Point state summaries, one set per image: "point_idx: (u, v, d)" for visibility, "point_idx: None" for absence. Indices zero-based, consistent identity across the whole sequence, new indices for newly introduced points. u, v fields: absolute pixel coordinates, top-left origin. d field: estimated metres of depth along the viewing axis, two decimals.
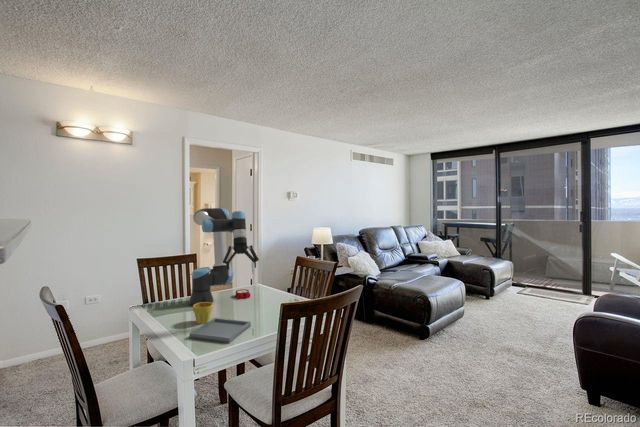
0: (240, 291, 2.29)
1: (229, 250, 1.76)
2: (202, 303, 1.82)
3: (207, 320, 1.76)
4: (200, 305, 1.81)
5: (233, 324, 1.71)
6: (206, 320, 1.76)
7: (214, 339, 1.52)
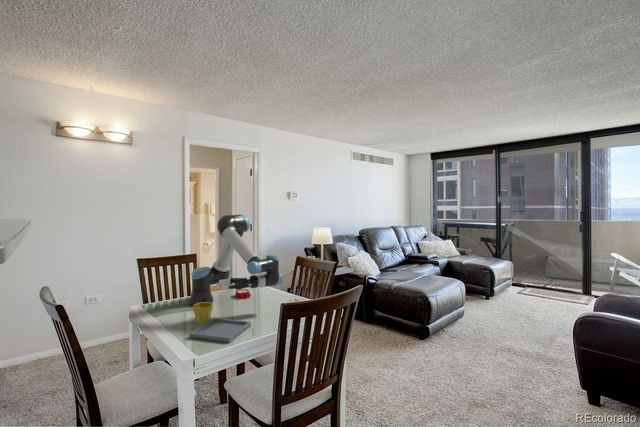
0: (240, 291, 2.29)
1: None
2: (202, 303, 1.82)
3: (207, 320, 1.76)
4: (200, 305, 1.81)
5: (233, 324, 1.71)
6: (206, 320, 1.76)
7: (214, 339, 1.52)
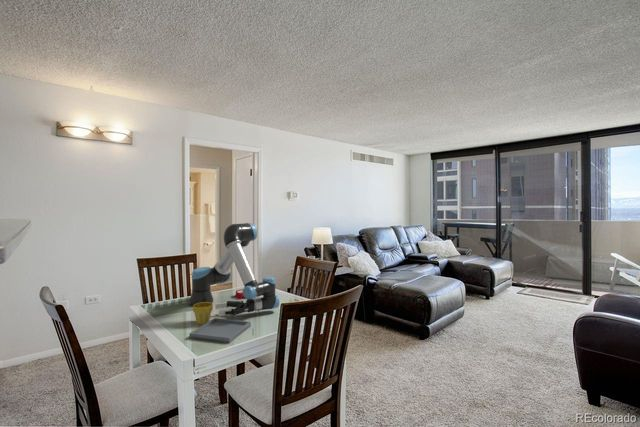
0: (240, 291, 2.29)
1: None
2: (202, 303, 1.82)
3: (207, 320, 1.76)
4: (200, 305, 1.81)
5: (233, 324, 1.71)
6: (206, 320, 1.76)
7: (214, 339, 1.52)
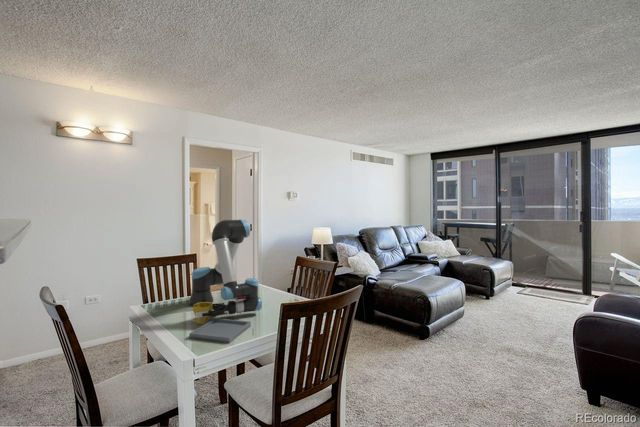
0: None
1: None
2: (202, 303, 1.82)
3: (207, 320, 1.76)
4: (200, 305, 1.81)
5: (233, 324, 1.71)
6: (206, 320, 1.76)
7: (214, 339, 1.52)
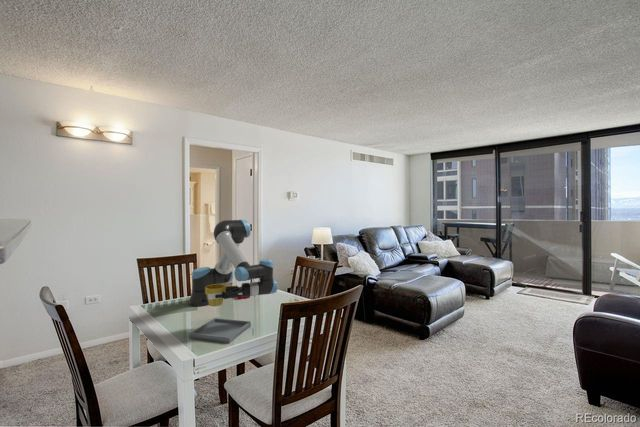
0: None
1: None
2: (214, 285, 1.71)
3: (220, 302, 1.66)
4: (212, 287, 1.71)
5: (233, 324, 1.71)
6: (219, 302, 1.65)
7: (214, 339, 1.52)
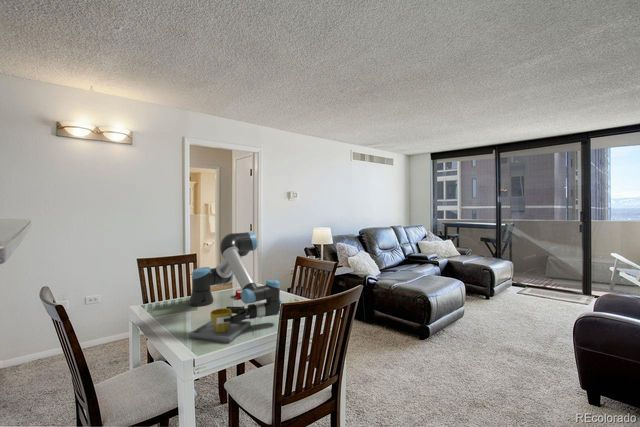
0: (240, 291, 2.28)
1: (244, 319, 1.62)
2: (219, 309, 1.68)
3: (226, 328, 1.62)
4: (217, 312, 1.67)
5: (233, 324, 1.71)
6: (225, 328, 1.62)
7: (214, 339, 1.52)
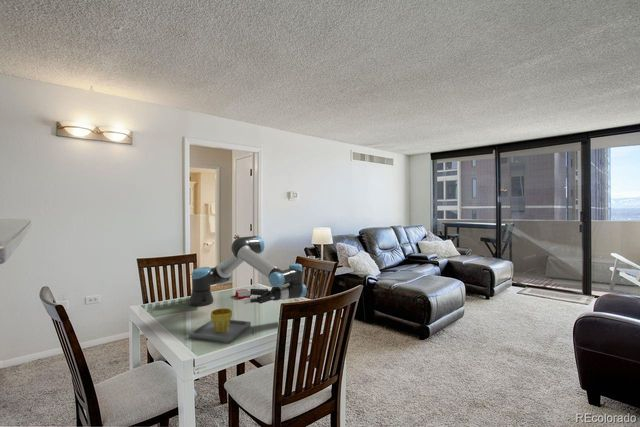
0: None
1: None
2: (220, 310, 1.68)
3: (226, 328, 1.62)
4: (217, 312, 1.67)
5: (233, 324, 1.71)
6: (225, 328, 1.62)
7: (214, 339, 1.52)
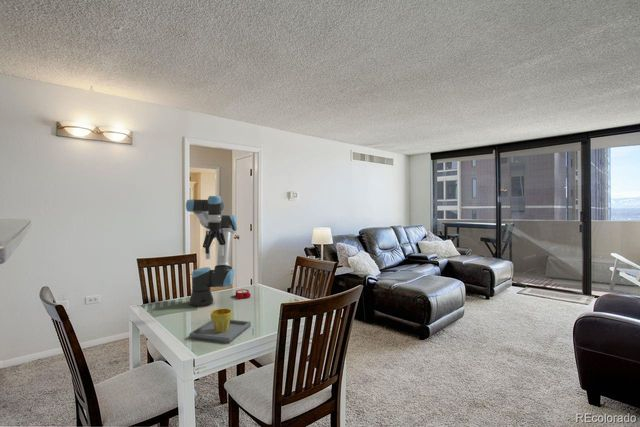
0: (240, 291, 2.28)
1: (210, 235, 1.82)
2: (220, 310, 1.68)
3: (226, 328, 1.62)
4: (217, 312, 1.67)
5: (233, 324, 1.71)
6: (225, 328, 1.62)
7: (214, 339, 1.52)
